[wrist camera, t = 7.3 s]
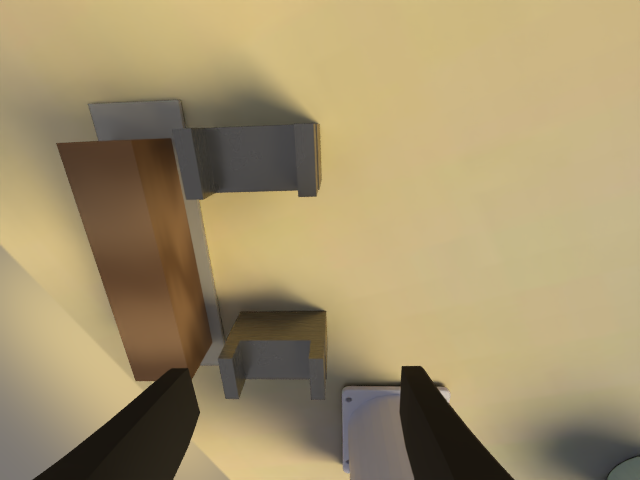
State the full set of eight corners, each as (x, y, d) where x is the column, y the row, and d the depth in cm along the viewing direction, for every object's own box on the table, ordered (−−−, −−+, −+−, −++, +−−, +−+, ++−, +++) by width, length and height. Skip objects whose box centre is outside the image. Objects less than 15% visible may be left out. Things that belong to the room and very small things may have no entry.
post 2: (327, 346, 21) (325, 399, 17) (245, 346, 22) (224, 398, 18) (326, 311, 20) (324, 358, 16) (240, 311, 21) (216, 358, 16)
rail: (212, 342, 21) (190, 381, 18) (165, 342, 22) (135, 380, 18) (171, 137, 16) (130, 140, 13) (110, 140, 17) (56, 143, 13)
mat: (228, 362, 22) (227, 365, 22) (164, 362, 23) (162, 365, 22) (180, 100, 16) (177, 99, 16) (92, 104, 16) (88, 103, 16)
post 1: (321, 179, 17) (317, 196, 13) (220, 182, 18) (184, 199, 13) (319, 124, 16) (314, 123, 12) (212, 128, 16) (170, 129, 12)
